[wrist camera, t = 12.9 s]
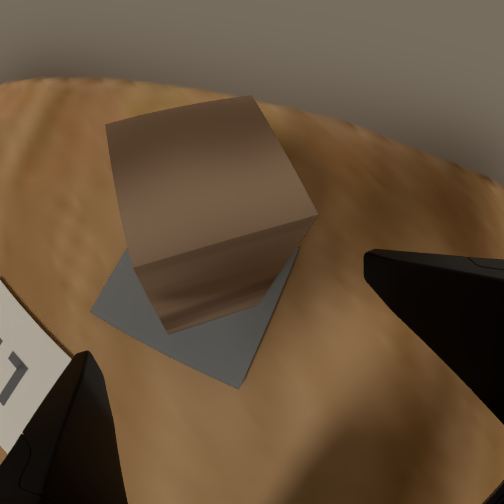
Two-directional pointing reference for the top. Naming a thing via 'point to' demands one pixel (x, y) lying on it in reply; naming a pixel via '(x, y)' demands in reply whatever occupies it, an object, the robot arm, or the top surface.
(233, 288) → the walnut block
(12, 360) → the card
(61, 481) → the robot arm
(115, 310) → the rubber mat
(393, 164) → the top surface
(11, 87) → the top surface
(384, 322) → the top surface
